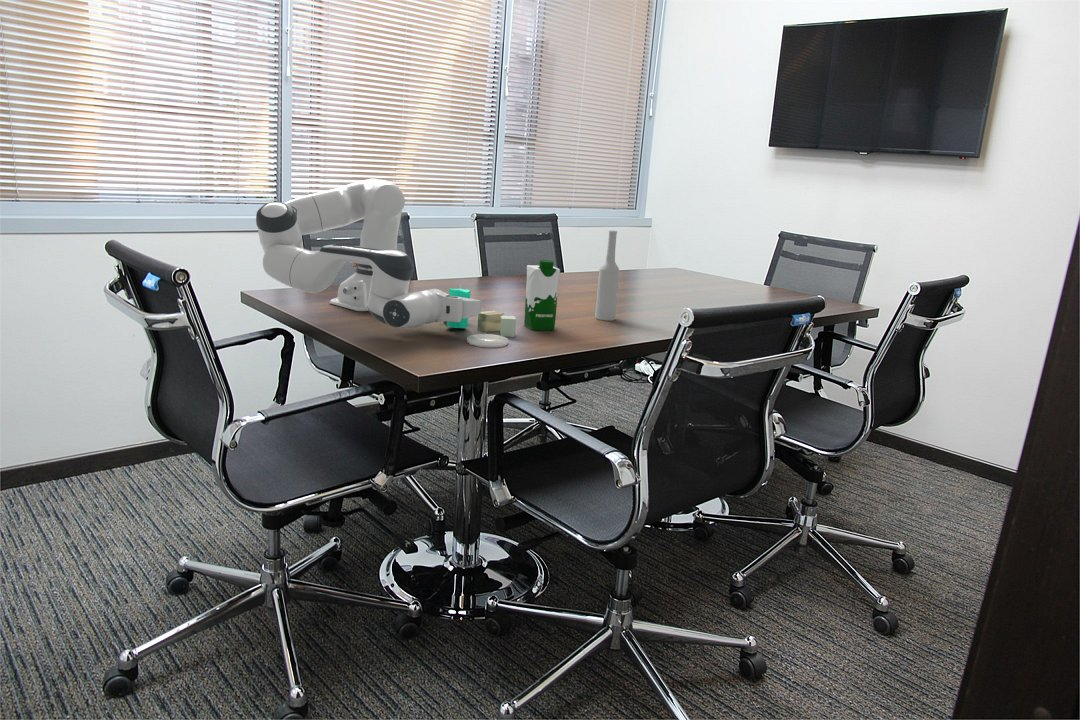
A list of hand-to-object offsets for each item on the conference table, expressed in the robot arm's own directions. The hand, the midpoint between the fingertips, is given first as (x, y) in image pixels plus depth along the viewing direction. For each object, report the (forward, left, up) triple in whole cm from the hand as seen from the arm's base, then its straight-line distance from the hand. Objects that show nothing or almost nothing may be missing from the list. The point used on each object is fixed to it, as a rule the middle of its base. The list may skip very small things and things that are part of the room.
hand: (461, 299), depth 215 cm
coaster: (+15, -9, -8) cm, 19 cm away
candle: (0, -2, -8) cm, 8 cm away
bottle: (+25, +46, -9) cm, 53 cm away
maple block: (+7, +5, -8) cm, 12 cm away
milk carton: (+16, +18, -9) cm, 25 cm away
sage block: (+14, +3, -8) cm, 16 cm away
